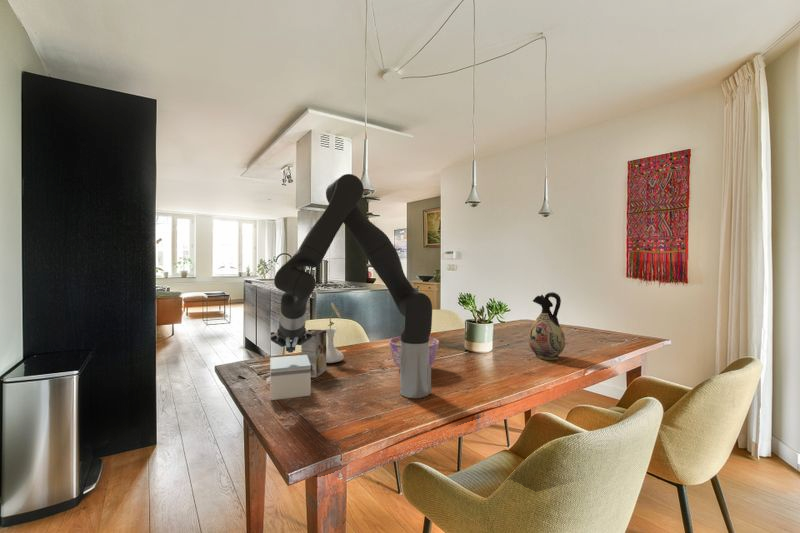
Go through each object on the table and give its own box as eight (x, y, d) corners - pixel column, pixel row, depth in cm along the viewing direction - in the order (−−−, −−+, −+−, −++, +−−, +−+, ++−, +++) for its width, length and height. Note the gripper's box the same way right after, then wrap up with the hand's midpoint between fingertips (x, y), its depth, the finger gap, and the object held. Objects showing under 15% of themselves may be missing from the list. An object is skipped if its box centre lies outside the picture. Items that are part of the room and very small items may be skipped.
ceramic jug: (521, 357, 163) (522, 291, 163) (537, 351, 174) (538, 289, 173) (559, 365, 151) (560, 294, 150) (574, 358, 161) (575, 292, 161)
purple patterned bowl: (385, 376, 134) (385, 345, 134) (392, 361, 154) (392, 334, 154) (438, 378, 132) (439, 347, 132) (439, 363, 152) (439, 336, 152)
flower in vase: (341, 365, 148) (341, 304, 148) (313, 365, 148) (314, 304, 148) (346, 357, 161) (346, 301, 161) (321, 356, 161) (321, 301, 161)
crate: (306, 384, 125) (306, 358, 125) (310, 395, 115) (310, 367, 114) (270, 388, 121) (270, 361, 121) (270, 400, 110) (270, 371, 110)
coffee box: (311, 369, 142) (311, 329, 142) (326, 370, 141) (327, 329, 141) (300, 376, 133) (300, 333, 133) (316, 377, 132) (317, 334, 132)
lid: (306, 356, 125) (306, 354, 125) (310, 367, 115) (310, 365, 115) (270, 359, 121) (270, 357, 121) (270, 370, 110) (270, 369, 110)
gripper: (314, 307, 111) (310, 339, 123) (268, 309, 107) (268, 342, 118) (316, 327, 106) (311, 358, 118) (269, 330, 102) (269, 362, 113)
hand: (290, 350), depth 118 cm, fingers closed
